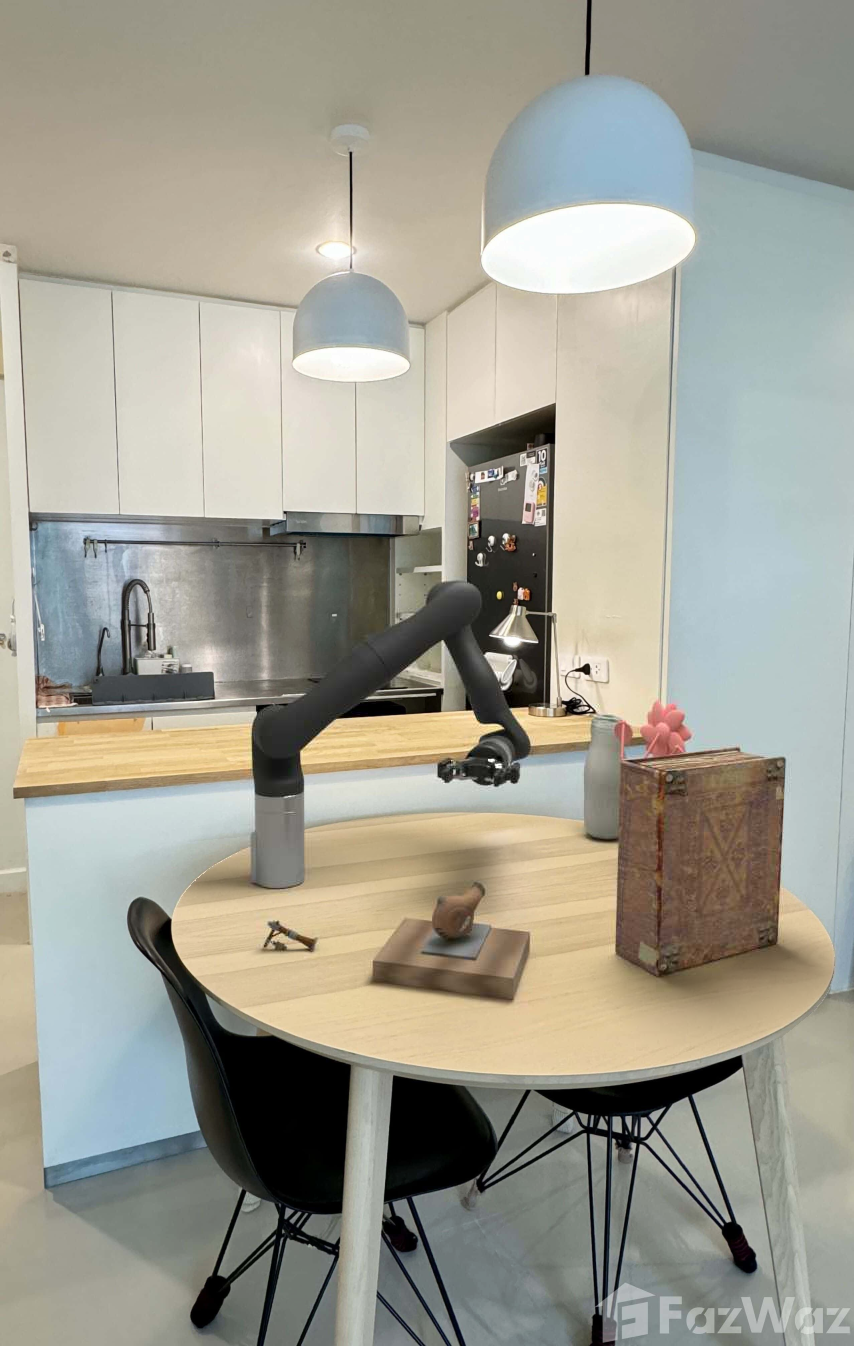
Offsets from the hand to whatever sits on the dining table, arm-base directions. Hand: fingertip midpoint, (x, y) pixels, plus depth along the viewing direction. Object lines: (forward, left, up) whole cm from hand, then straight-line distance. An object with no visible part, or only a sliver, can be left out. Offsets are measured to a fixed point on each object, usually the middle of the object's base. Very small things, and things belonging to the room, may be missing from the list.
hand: (470, 779), depth 139 cm
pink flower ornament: (+32, +25, -24) cm, 47 cm away
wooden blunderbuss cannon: (-23, -21, -24) cm, 40 cm away
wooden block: (+2, -20, -24) cm, 31 cm away
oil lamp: (+2, -18, -20) cm, 27 cm away
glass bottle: (+20, +52, -24) cm, 61 cm away
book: (+37, -4, -24) cm, 44 cm away
